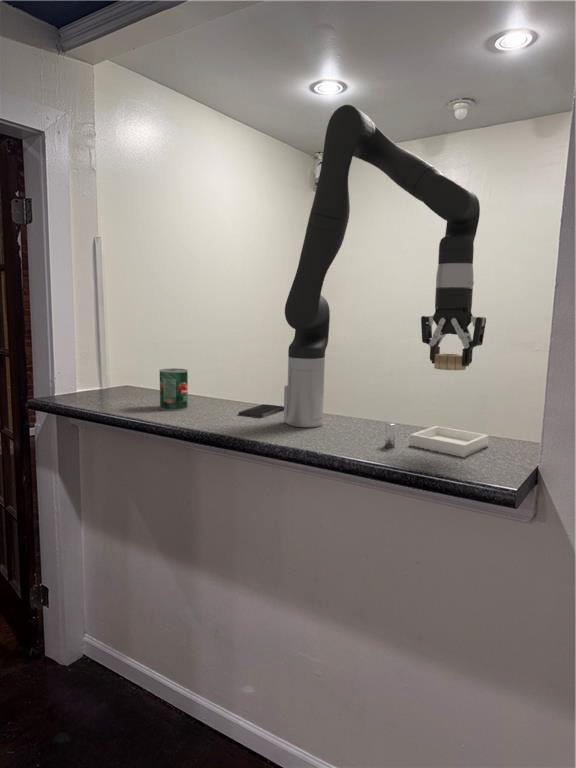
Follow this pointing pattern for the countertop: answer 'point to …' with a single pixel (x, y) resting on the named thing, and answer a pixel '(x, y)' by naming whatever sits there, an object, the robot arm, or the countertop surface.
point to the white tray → (449, 441)
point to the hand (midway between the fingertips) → (450, 364)
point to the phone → (262, 411)
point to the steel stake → (390, 435)
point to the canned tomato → (173, 389)
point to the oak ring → (449, 362)
